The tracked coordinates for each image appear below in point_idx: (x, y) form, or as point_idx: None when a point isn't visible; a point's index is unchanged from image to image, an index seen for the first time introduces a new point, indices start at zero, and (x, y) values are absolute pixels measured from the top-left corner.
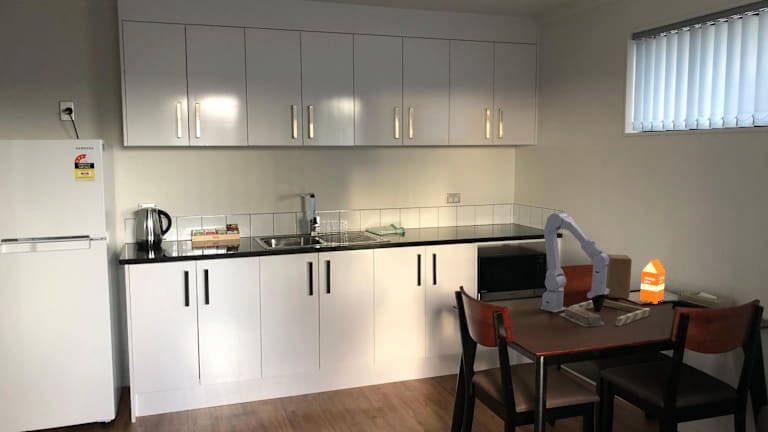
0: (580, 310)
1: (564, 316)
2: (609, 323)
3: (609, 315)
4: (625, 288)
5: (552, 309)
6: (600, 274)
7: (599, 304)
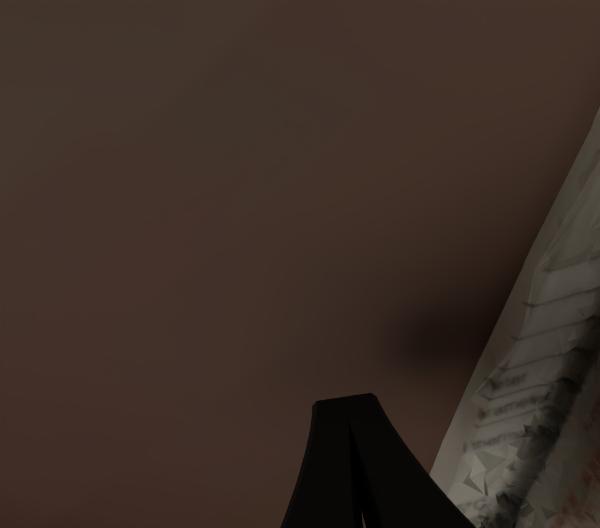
0: None
1: None
2: (460, 12)
3: (45, 355)
4: None
5: None
6: None
7: (469, 520)
